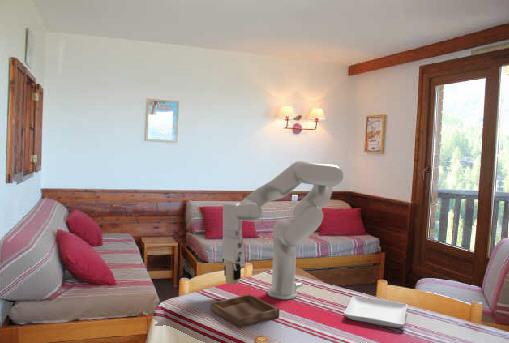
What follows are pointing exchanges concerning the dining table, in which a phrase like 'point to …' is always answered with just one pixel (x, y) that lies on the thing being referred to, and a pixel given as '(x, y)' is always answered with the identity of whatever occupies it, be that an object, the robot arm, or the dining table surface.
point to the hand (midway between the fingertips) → (232, 276)
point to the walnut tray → (244, 310)
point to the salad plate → (376, 311)
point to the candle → (230, 273)
